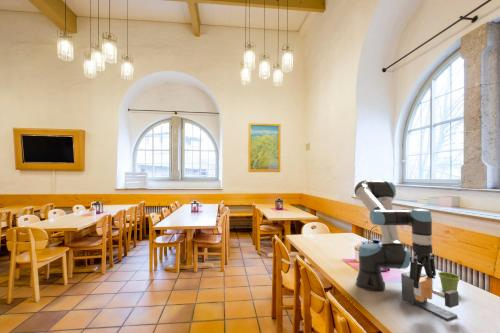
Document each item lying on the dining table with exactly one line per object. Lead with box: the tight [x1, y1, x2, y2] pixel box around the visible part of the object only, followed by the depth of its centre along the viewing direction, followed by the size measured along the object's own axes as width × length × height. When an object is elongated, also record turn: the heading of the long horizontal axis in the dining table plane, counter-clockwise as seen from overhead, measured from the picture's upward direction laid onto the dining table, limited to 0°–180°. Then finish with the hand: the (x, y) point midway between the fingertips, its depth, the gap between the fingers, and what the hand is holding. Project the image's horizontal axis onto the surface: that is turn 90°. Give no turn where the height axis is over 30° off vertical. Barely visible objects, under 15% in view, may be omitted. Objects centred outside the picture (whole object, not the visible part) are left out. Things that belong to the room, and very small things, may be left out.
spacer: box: [415, 276, 433, 302], centre depth 112 cm, size 3×7×9 cm, turn 111°
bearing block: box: [400, 271, 458, 322], centre depth 118 cm, size 20×10×14 cm, turn 21°
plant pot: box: [437, 271, 461, 293], centre depth 134 cm, size 9×9×9 cm
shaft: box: [432, 288, 460, 309], centre depth 115 cm, size 15×6×6 cm, turn 21°
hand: (423, 293), depth 112 cm, fingers closed on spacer, 7 cm apart
